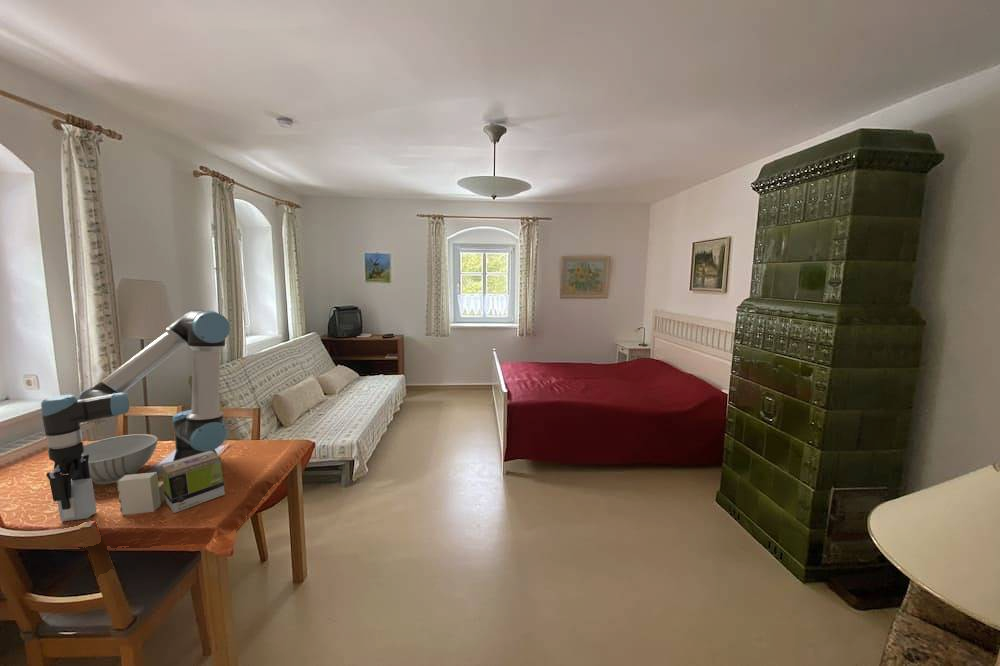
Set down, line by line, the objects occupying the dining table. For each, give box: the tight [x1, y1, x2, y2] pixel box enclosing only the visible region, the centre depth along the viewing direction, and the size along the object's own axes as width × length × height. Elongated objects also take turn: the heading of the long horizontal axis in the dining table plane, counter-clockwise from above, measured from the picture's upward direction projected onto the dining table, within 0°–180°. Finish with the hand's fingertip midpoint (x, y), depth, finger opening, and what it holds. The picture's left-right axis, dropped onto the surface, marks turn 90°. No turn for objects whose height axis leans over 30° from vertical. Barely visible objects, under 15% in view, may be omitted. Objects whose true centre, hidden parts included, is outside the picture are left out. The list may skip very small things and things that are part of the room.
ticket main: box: [116, 471, 166, 516], centre depth 135 cm, size 9×9×12 cm
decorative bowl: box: [81, 433, 159, 485], centre depth 155 cm, size 27×27×12 cm
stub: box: [57, 478, 97, 522], centre depth 129 cm, size 4×7×12 cm, turn 103°
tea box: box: [160, 450, 226, 514], centre depth 139 cm, size 15×10×15 cm, turn 141°
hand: (76, 512), depth 129 cm, fingers closed on stub, 4 cm apart
